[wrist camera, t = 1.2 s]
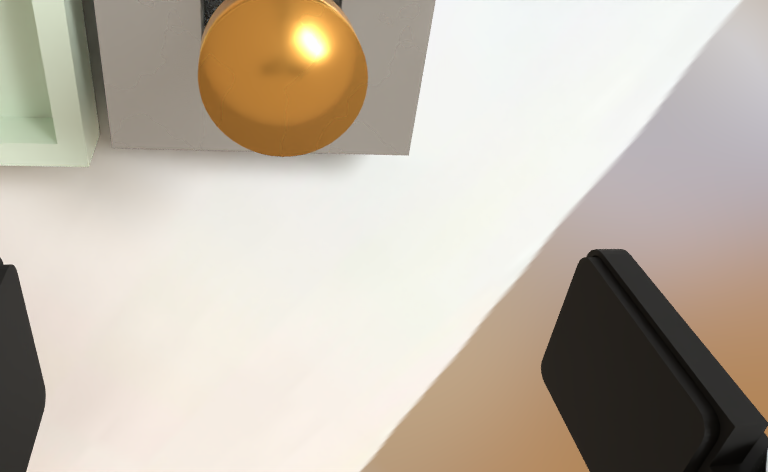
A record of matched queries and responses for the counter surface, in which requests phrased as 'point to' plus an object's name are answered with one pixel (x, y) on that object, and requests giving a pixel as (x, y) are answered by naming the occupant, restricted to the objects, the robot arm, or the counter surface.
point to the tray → (45, 85)
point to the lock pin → (281, 74)
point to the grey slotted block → (180, 75)
